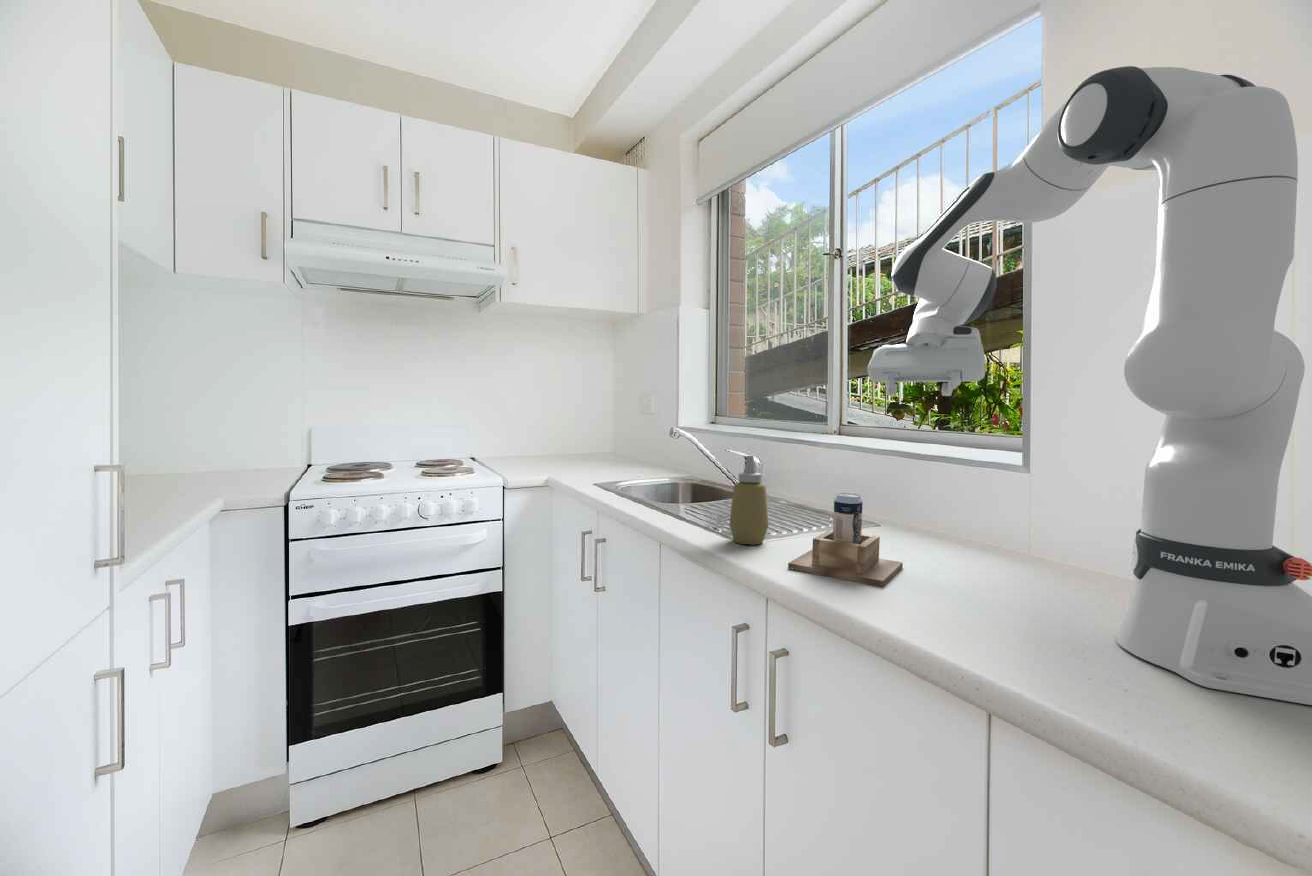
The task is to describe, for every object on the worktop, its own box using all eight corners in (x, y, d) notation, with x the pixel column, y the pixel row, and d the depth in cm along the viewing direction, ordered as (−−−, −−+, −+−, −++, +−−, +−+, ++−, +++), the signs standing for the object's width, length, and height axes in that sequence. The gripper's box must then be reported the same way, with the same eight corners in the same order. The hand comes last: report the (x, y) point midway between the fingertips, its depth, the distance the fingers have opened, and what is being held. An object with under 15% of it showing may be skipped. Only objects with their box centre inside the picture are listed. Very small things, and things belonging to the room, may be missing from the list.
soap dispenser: (727, 536, 123) (728, 453, 122) (765, 537, 123) (767, 454, 122) (730, 546, 115) (732, 457, 114) (771, 547, 115) (773, 458, 114)
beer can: (862, 567, 99) (865, 498, 98) (833, 565, 100) (835, 496, 99) (858, 559, 103) (860, 493, 103) (830, 557, 104) (832, 492, 103)
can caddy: (902, 567, 102) (903, 537, 101) (882, 587, 91) (884, 553, 91) (814, 552, 111) (815, 524, 111) (788, 568, 101) (788, 537, 100)
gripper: (872, 334, 117) (856, 381, 109) (988, 327, 105) (979, 380, 97) (878, 358, 121) (862, 404, 113) (990, 354, 109) (981, 406, 101)
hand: (917, 393), depth 105 cm, fingers open, 8 cm apart
